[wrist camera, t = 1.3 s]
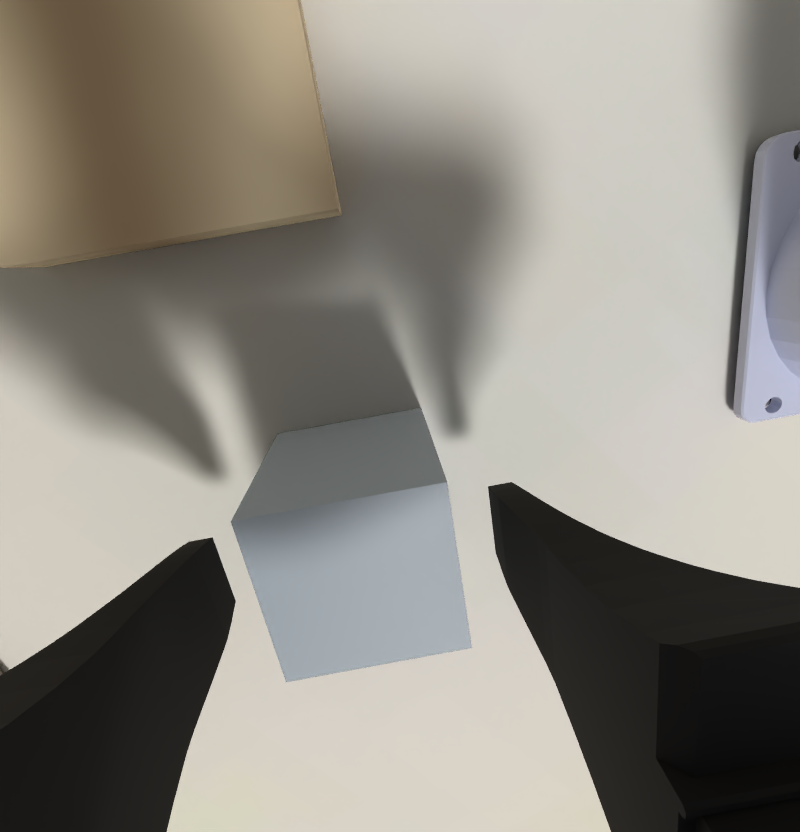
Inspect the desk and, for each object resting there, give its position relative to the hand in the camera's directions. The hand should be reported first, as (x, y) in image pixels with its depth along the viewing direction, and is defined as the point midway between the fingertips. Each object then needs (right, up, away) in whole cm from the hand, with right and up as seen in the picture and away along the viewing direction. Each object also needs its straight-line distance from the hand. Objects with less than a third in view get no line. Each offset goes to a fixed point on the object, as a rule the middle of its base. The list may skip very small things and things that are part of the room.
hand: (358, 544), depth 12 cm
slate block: (0, +1, +3) cm, 3 cm away
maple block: (-5, +12, -1) cm, 13 cm away
